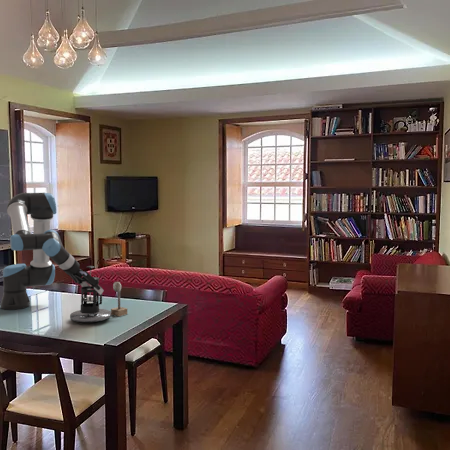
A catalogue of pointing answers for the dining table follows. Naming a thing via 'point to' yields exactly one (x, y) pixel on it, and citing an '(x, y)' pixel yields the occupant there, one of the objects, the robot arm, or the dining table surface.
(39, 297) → the dining table surface
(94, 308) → the french press
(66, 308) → the dining table surface
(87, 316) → the disc
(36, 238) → the robot arm
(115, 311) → the dial gauge stand
